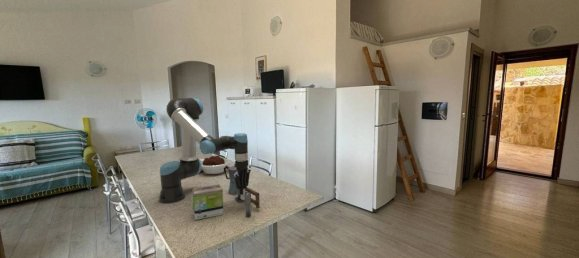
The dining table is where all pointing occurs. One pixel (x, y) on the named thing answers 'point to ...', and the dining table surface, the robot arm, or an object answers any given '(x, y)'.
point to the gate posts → (247, 202)
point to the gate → (255, 197)
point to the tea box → (207, 201)
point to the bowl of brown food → (214, 165)
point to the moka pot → (231, 179)
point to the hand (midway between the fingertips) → (243, 199)
